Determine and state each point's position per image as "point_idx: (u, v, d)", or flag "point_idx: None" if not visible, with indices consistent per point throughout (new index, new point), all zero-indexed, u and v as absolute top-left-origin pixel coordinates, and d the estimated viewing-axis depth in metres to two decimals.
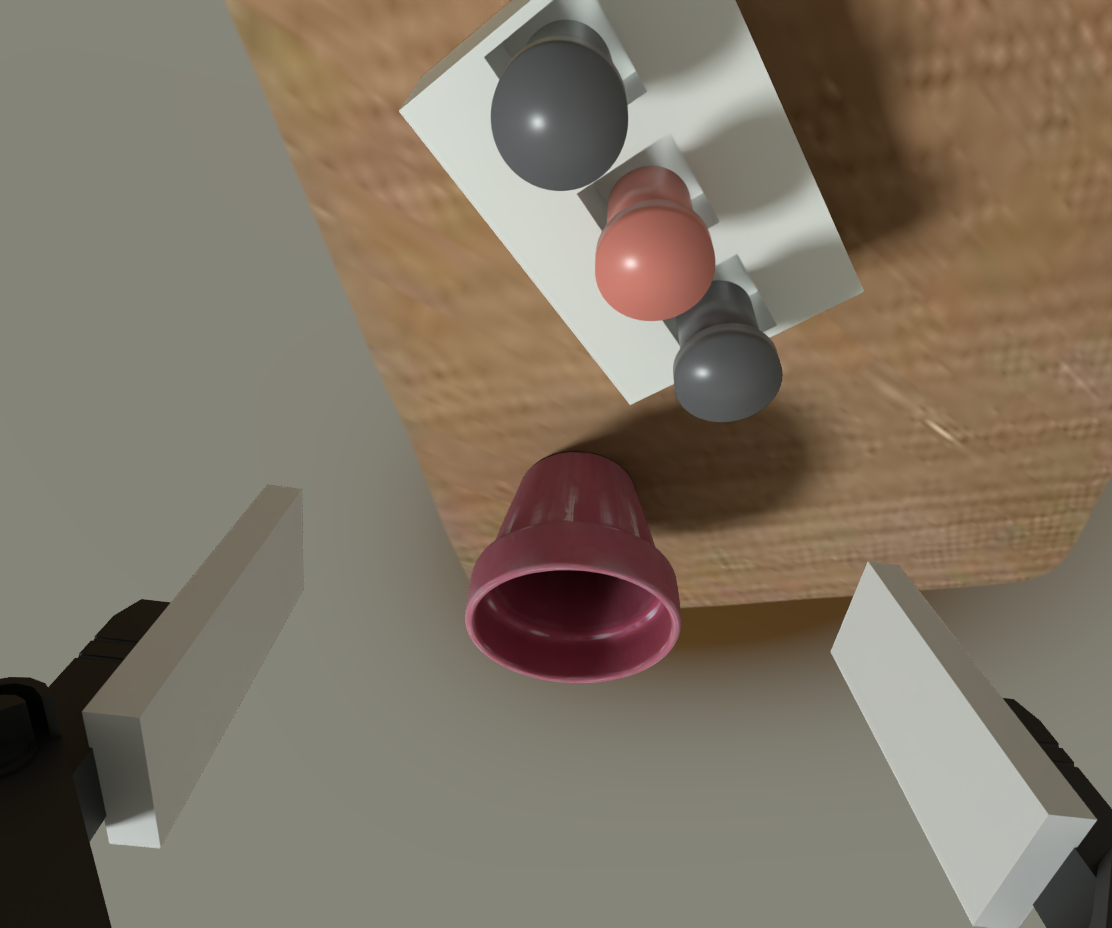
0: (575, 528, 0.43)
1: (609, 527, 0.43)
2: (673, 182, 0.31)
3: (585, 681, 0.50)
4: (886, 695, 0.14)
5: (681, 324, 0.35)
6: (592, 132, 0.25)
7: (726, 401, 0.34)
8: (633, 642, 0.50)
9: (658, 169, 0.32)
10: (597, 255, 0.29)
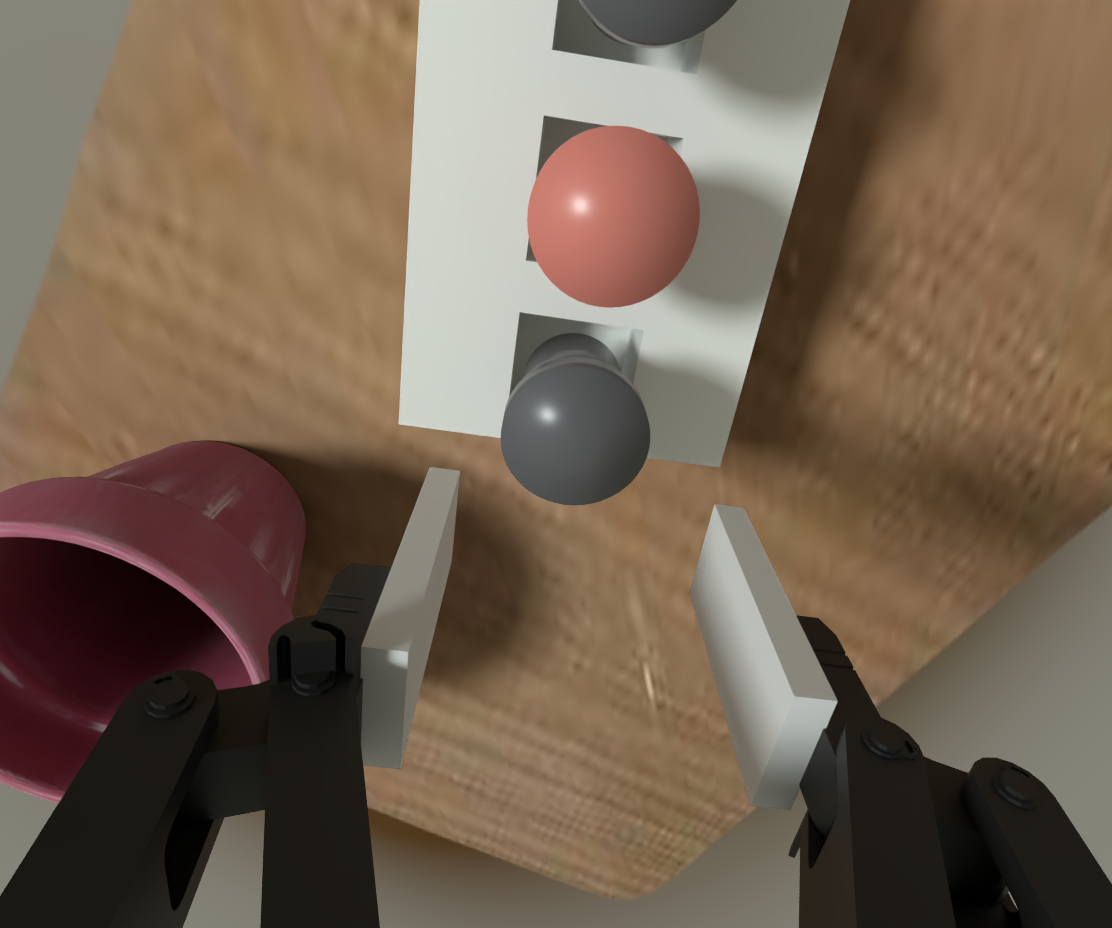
0: (209, 529, 0.26)
1: (258, 560, 0.27)
2: None
3: (26, 789, 0.28)
4: (717, 621, 0.16)
5: (545, 354, 0.26)
6: None
7: (554, 465, 0.23)
8: None
9: None
10: (565, 143, 0.19)
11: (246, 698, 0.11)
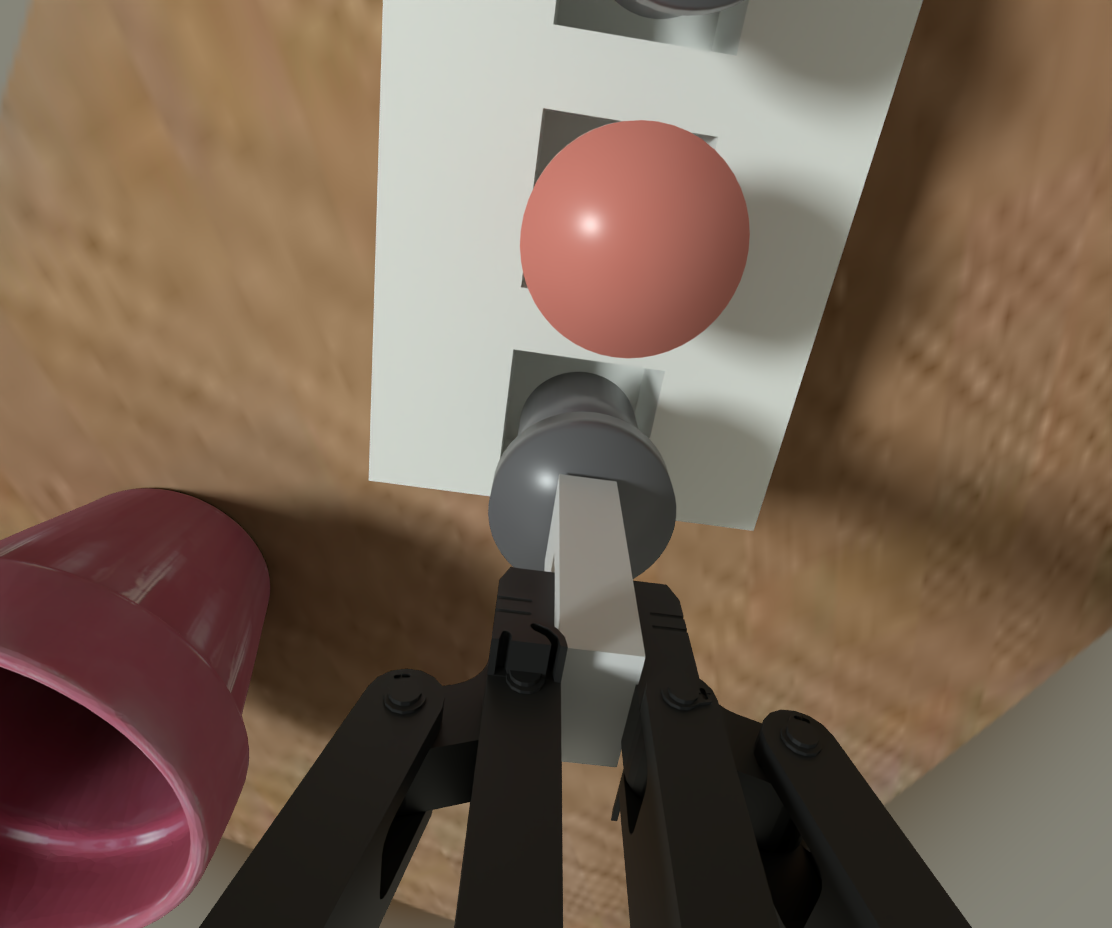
0: (130, 619, 0.21)
1: (194, 651, 0.22)
2: None
3: None
4: None
5: (544, 401, 0.21)
6: None
7: None
8: (78, 877, 0.26)
9: None
10: (571, 144, 0.14)
11: (459, 695, 0.11)
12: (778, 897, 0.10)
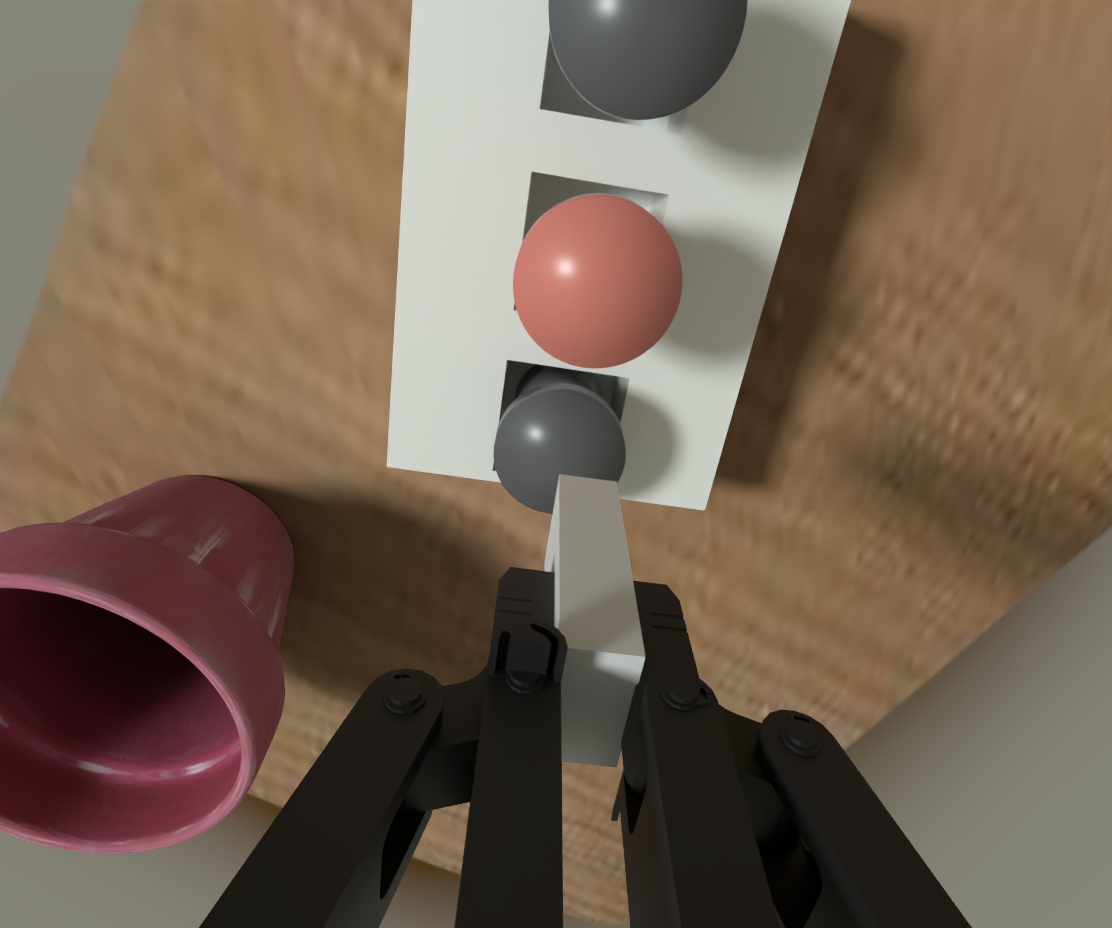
0: (196, 575, 0.26)
1: (245, 604, 0.27)
2: None
3: (10, 831, 0.28)
4: None
5: (533, 378, 0.29)
6: (671, 57, 0.18)
7: (541, 478, 0.26)
8: (138, 800, 0.31)
9: None
10: (550, 212, 0.20)
11: (458, 695, 0.11)
12: (778, 897, 0.10)
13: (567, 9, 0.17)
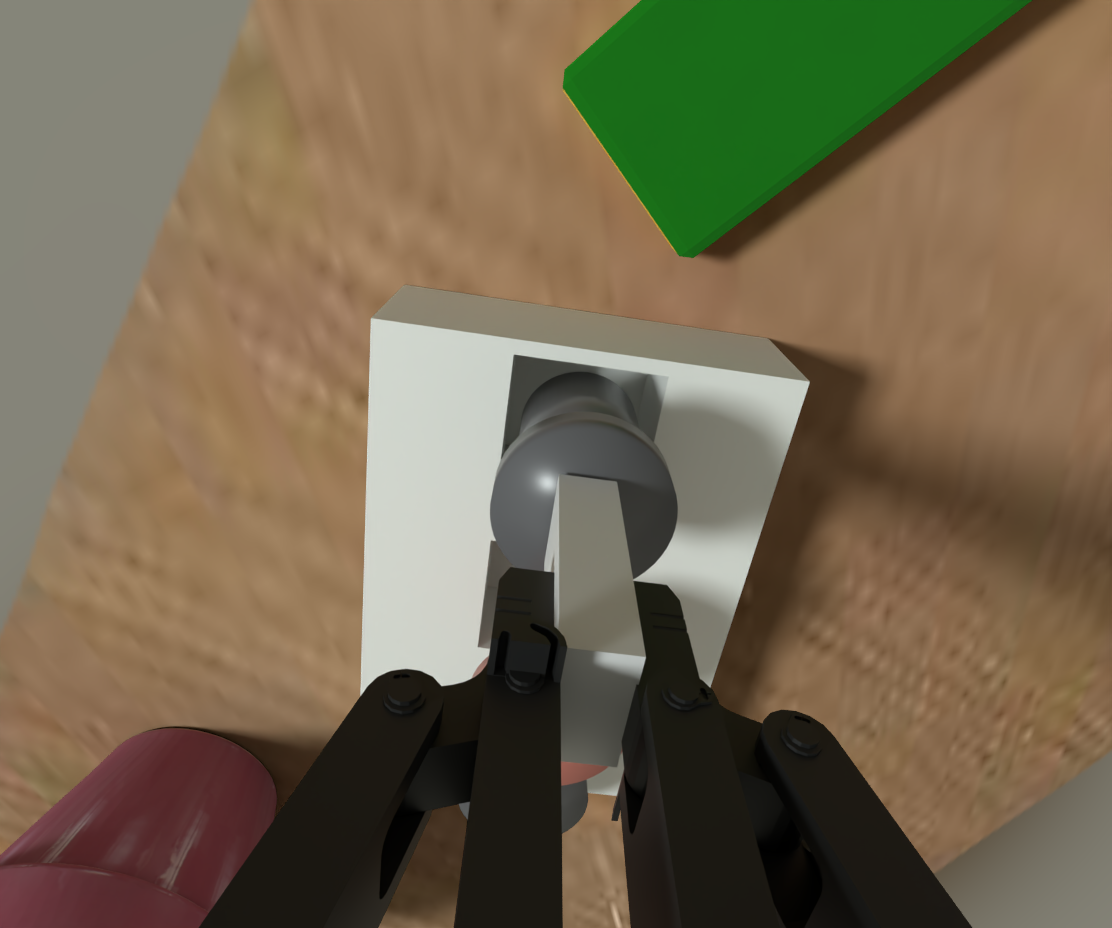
0: (169, 911, 0.27)
1: None
2: None
3: None
4: None
5: None
6: None
7: None
8: None
9: None
10: None
11: (458, 695, 0.11)
12: (778, 897, 0.10)
13: (507, 517, 0.18)
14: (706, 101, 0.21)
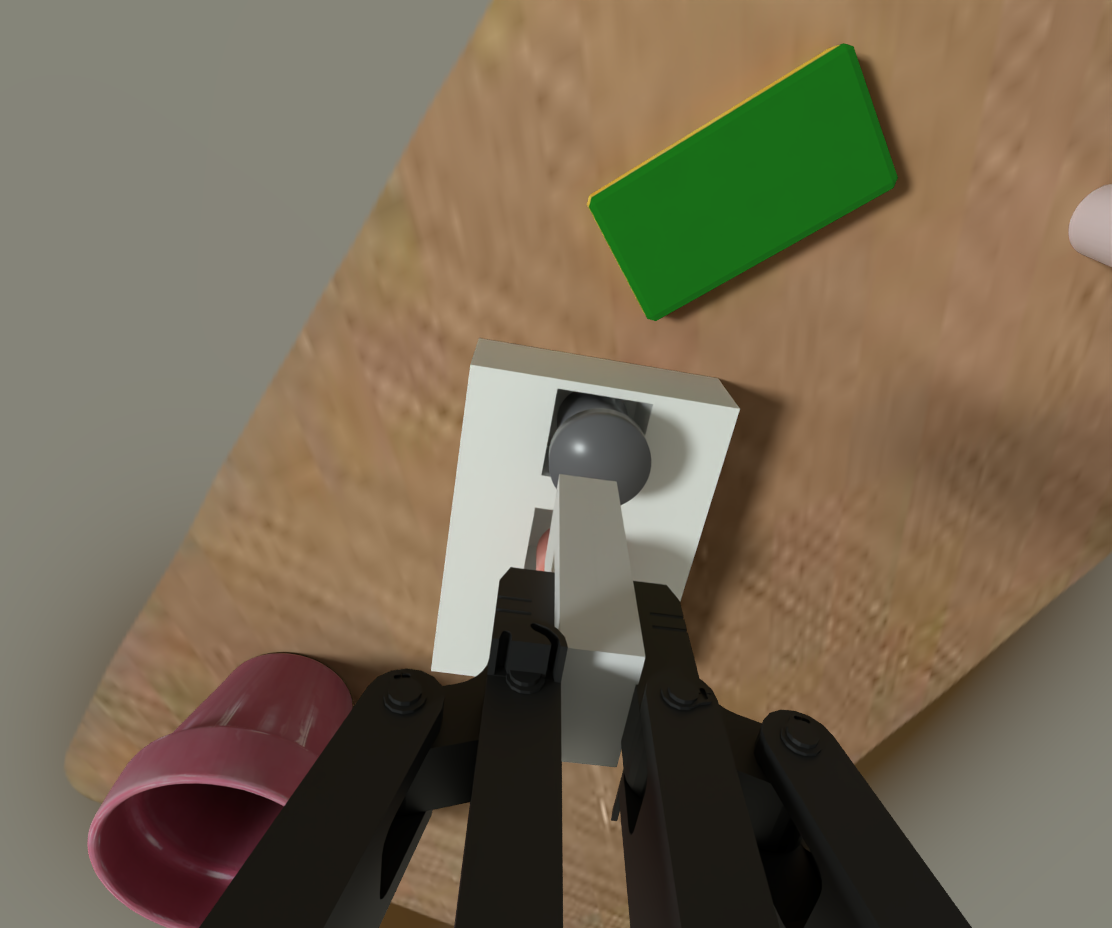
0: (308, 760, 0.39)
1: None
2: None
3: (171, 926, 0.41)
4: None
5: None
6: None
7: None
8: None
9: None
10: None
11: (459, 695, 0.11)
12: (778, 897, 0.10)
13: (558, 465, 0.34)
14: (674, 229, 0.35)
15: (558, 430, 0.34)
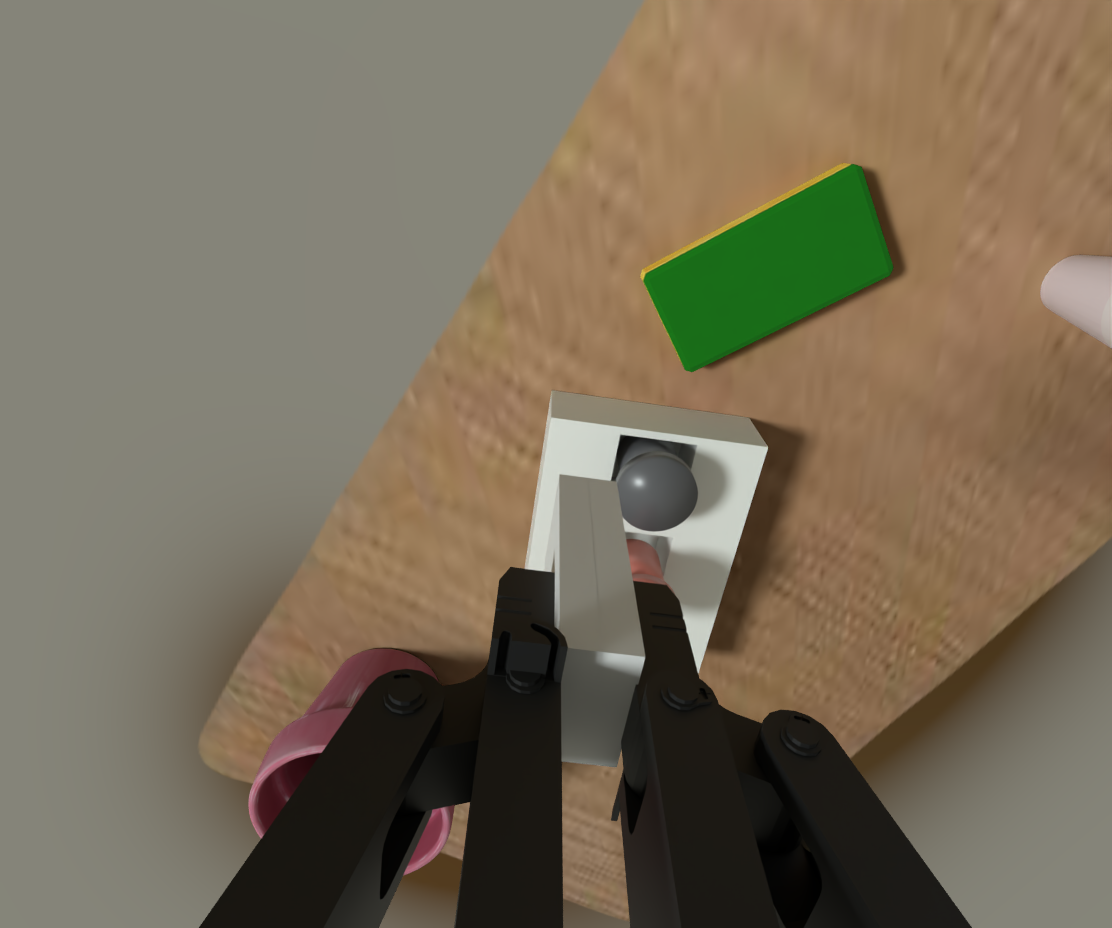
0: None
1: None
2: (660, 566, 0.46)
3: None
4: None
5: None
6: (666, 511, 0.43)
7: None
8: None
9: (654, 551, 0.47)
10: None
11: (459, 695, 0.11)
12: (778, 897, 0.10)
13: (623, 497, 0.42)
14: (711, 301, 0.43)
15: (622, 469, 0.42)
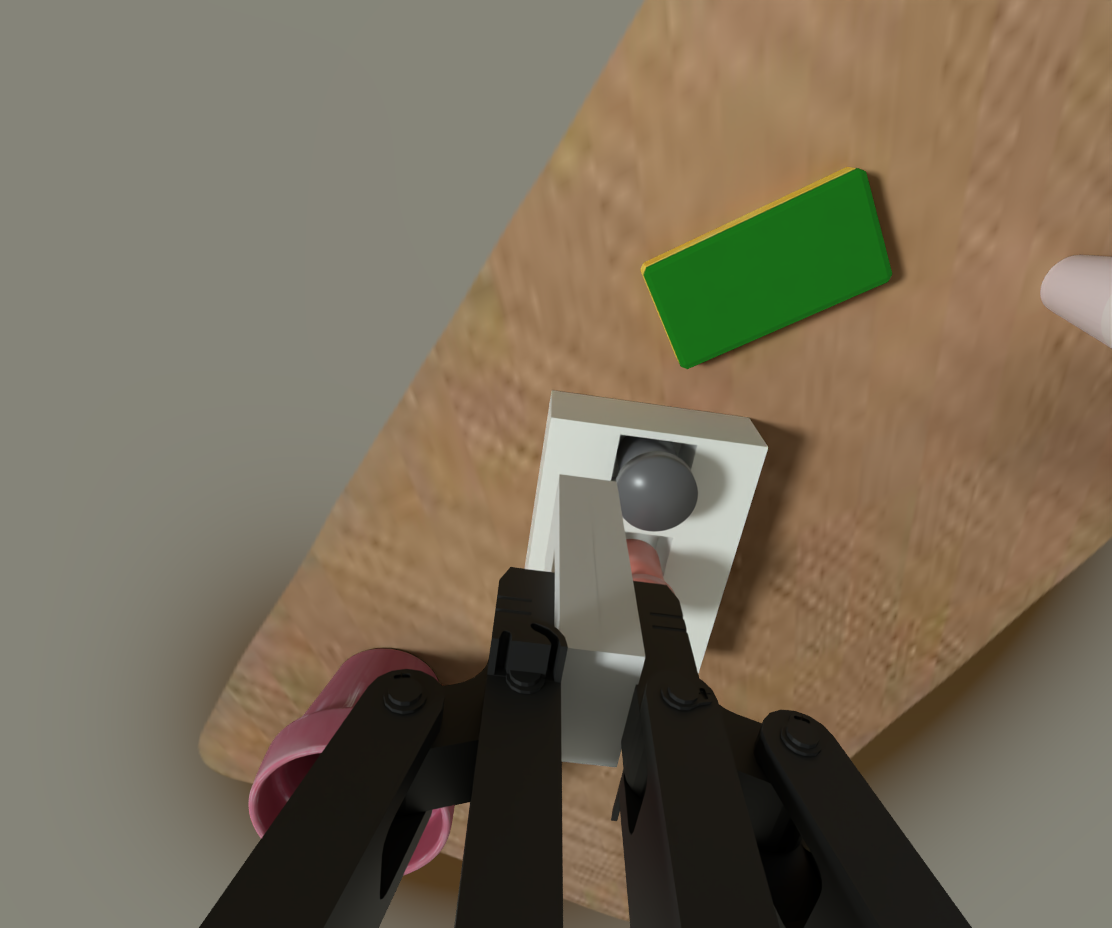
0: None
1: None
2: (660, 566, 0.46)
3: None
4: None
5: None
6: (666, 511, 0.43)
7: None
8: None
9: (654, 551, 0.47)
10: None
11: (459, 695, 0.11)
12: (778, 897, 0.10)
13: (623, 497, 0.42)
14: (710, 298, 0.43)
15: (622, 469, 0.42)
